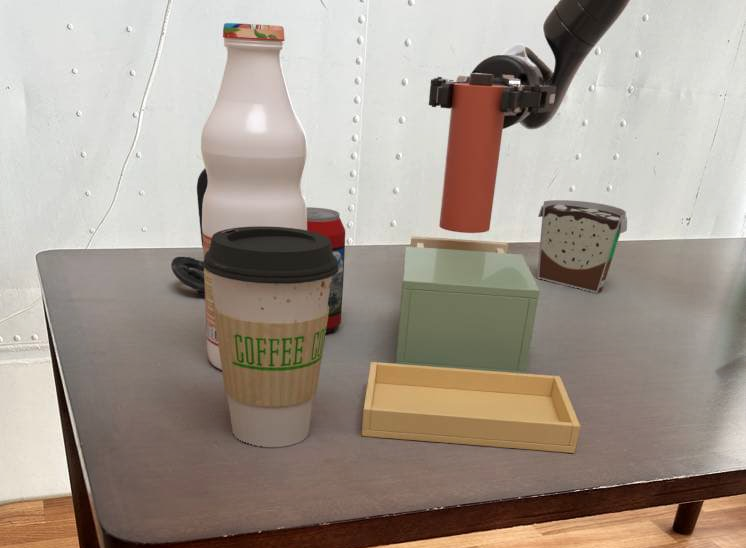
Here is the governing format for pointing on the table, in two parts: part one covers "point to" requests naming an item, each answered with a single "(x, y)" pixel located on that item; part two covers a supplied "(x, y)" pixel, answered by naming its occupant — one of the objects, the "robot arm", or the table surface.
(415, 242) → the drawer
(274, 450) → the table surface
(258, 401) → the coffee cup
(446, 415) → the tray
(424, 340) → the cabinet
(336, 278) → the beverage can
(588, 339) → the table surface
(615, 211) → the food container
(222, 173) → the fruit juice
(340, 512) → the table surface
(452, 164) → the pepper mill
